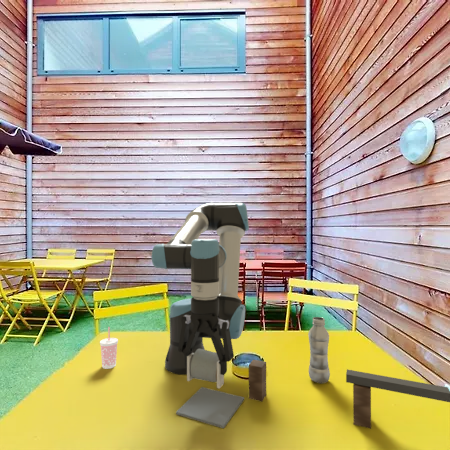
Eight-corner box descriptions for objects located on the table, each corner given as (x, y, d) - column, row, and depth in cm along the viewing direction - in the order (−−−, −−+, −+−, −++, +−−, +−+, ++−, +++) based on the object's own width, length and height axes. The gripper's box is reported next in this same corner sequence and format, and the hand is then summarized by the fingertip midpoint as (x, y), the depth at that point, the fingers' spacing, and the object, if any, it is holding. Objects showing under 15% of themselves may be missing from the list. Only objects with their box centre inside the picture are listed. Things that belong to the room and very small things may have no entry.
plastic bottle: (319, 388, 95) (319, 323, 95) (304, 378, 101) (303, 317, 101) (334, 383, 98) (334, 320, 98) (318, 374, 104) (318, 314, 104)
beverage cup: (97, 365, 111) (97, 326, 111) (114, 360, 115) (114, 323, 115) (103, 371, 107) (103, 330, 107) (120, 366, 111) (120, 327, 111)
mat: (176, 414, 82) (176, 411, 82) (201, 388, 95) (201, 386, 95) (223, 428, 76) (223, 426, 76) (244, 399, 89) (244, 397, 89)
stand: (248, 398, 89) (248, 365, 89) (253, 391, 93) (253, 359, 93) (371, 428, 76) (370, 389, 76) (370, 419, 80) (370, 381, 80)
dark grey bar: (346, 382, 79) (346, 374, 79) (346, 376, 82) (346, 369, 82) (450, 402, 70) (450, 393, 70) (447, 395, 72) (447, 387, 72)
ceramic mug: (218, 388, 80) (218, 358, 80) (189, 383, 82) (189, 354, 82) (231, 371, 90) (231, 344, 90) (204, 367, 92) (205, 341, 93)
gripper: (164, 296, 84) (164, 380, 83) (235, 303, 75) (236, 398, 74) (179, 290, 90) (179, 368, 90) (247, 297, 81) (247, 384, 81)
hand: (205, 382), depth 82 cm, fingers closed on ceramic mug, 8 cm apart
